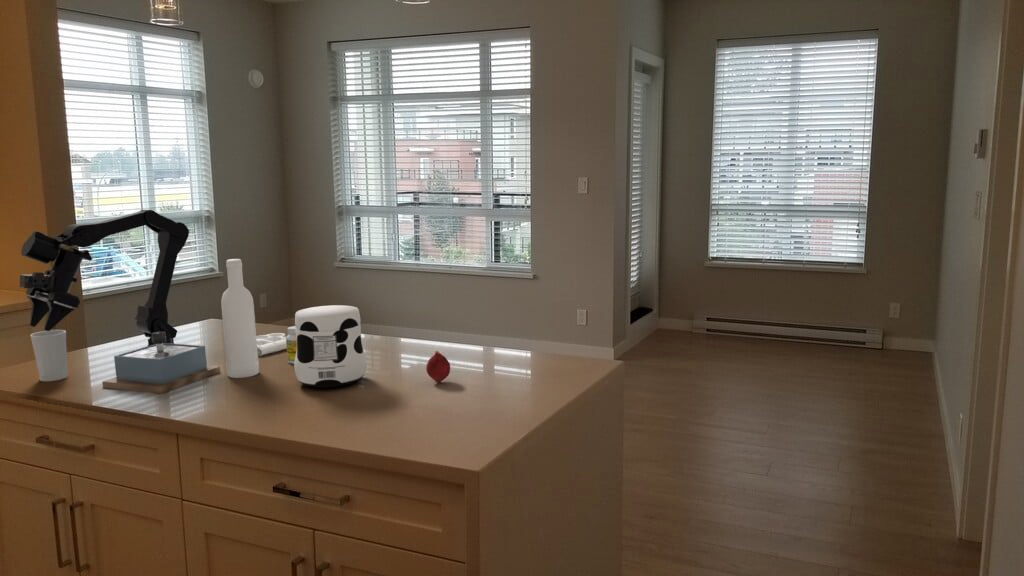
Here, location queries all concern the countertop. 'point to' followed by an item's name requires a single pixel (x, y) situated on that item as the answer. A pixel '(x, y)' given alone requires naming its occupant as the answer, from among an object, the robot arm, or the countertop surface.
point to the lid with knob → (159, 348)
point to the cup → (50, 354)
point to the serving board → (160, 387)
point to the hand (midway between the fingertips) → (39, 328)
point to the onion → (438, 367)
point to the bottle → (239, 325)
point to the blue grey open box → (160, 365)
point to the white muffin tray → (270, 343)
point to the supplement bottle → (291, 344)
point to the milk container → (329, 346)
